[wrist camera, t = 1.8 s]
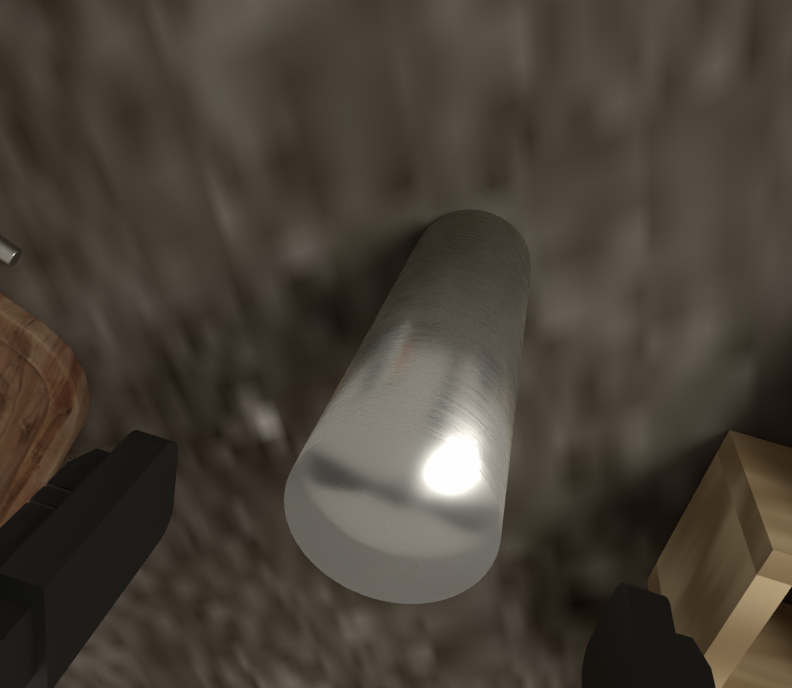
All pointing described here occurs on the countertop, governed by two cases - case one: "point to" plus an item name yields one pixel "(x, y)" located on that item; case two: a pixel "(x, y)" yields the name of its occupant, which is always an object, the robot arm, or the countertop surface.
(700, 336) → the countertop surface
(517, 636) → the countertop surface
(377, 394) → the hinge pin
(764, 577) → the hinge
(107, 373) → the countertop surface
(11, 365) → the chopping board
